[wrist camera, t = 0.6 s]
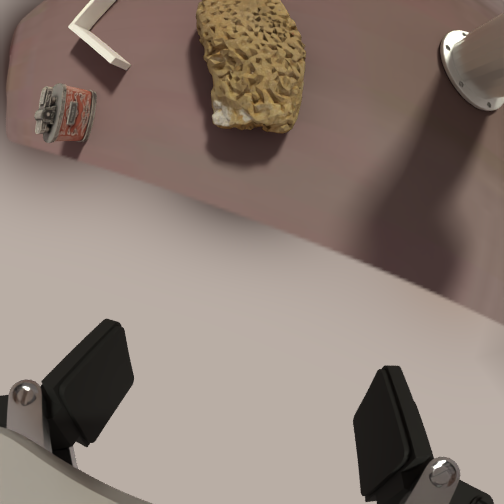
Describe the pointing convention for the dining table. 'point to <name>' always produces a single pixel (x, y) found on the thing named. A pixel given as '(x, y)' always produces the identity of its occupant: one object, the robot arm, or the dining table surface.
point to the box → (82, 26)
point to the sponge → (252, 63)
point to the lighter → (65, 113)
